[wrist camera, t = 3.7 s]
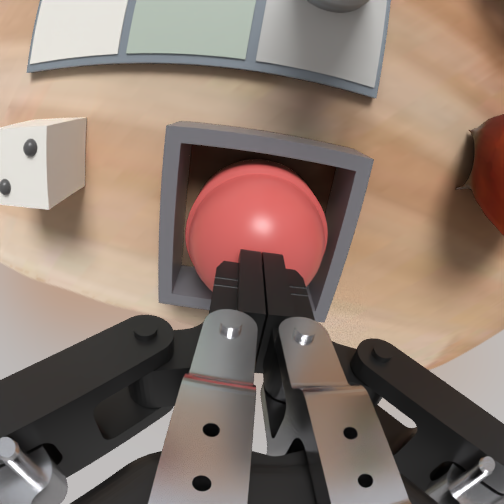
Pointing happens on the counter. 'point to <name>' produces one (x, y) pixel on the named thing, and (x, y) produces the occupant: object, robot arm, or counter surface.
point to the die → (42, 161)
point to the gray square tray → (343, 158)
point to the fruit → (489, 170)
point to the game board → (217, 37)
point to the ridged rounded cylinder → (338, 5)
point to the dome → (256, 219)
